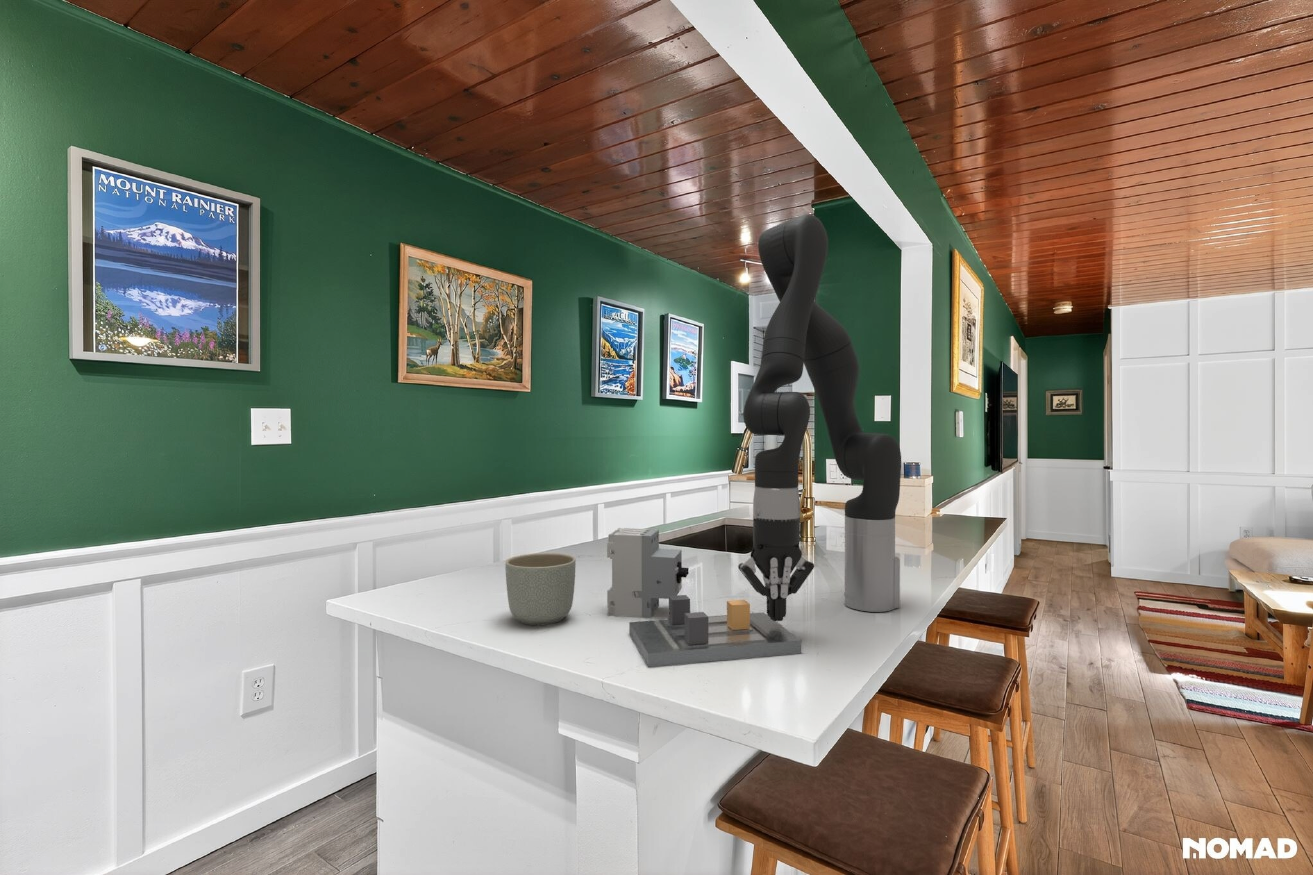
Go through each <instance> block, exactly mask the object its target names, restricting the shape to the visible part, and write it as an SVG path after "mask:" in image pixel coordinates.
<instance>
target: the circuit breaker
mask: <svg viewBox="0 0 1313 875" xmlns="http://www.w3.org/2000/svg"><path fill="white" fill-rule="evenodd" d="M607 535H608V536H607V537H608V540H607V544H606V550H607V551H606V557H607V558H609V559H610V560H611V587H610V588H609V589H607V593H606V594H607V595H606V596H607V598H606V599H607V604H606V605H607V614H606V615H607V617H610V616H612V617H613V616H614V617H617V618H618V617H620V618H634V619H635V618H637V619H651V618H652V617H653V616H654V615H655V613H656V611H657V610H658V609H659V608H660V599H662V600H663V599H665V600H666V599H667V600H669V596H678V594H679V593H680V592H681V590H682V587H683V585H682V584H683V580H682V578H687V576H688V575H689V574H690V573H689V567H683V566H682V562H683V557H682V549H679V548H677V549H676V548H675V549H674V548H660V529H658V528H657V529H656V528H634V527H633V528H631V527H628V528H627V527H624V528H623V527H622V528H621V527H618V528H617V529H615V530H614V531H612V532H611V533H608V534H607Z"/></svg>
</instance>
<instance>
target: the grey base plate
mask: <svg viewBox="0 0 1313 875" xmlns="http://www.w3.org/2000/svg"><path fill="white" fill-rule="evenodd" d="M707 616H708V643H707V644H695V645H689V644H688V643H687V642H686V640H685V624H672V623H671V622H670V621H669V618H668V619H655V620H642V621H640V620H639V621H630V622H628V623H629V624H628V626H629V628H628V629H629V630H628V631H629V632H628V633H629V634H628V635H629V636H630V638H631V640H632V641H633V643H634V645H635V646H636V648H637V650H638V651H639V652H638V653H639V654H640V655H641V657H642V659H643V661H644V663H645V664H646V666H647V668H654V667H665V666H674V665H685V664H700V663H711V662H720V661H729V660H731V661H732V660H741V659H742V660H743V659H754V658H764V657H774V656H775V657H776V656H778V657H779V656H786V655H787V656H789V655H799V654H802V646H803V645H802V639H800V638H799V637H797V635H795V634H794V633H792V632H791V631H790V630H788V629H787V628H786V627H784V626H783V625H781V624H780V623H778V621H773V620H772V619H770V617H769V616H768V615H767V613H765V612H764V611H763V612H752V613H751V612H750V629H740V630H732V629H731V628H729V627H728V626H727V614H723V615H721V614H720V615H712V616H711V615H710V616H709V615H707Z"/></svg>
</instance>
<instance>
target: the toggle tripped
mask: <svg viewBox="0 0 1313 875" xmlns="http://www.w3.org/2000/svg"><path fill="white" fill-rule="evenodd" d="M750 613H751V603H750V602H748V601H747V600H746V599H734V600H733V599H732V600H726V615H727V626H728V627H729V628H731V629H732V630H740V629H750Z"/></svg>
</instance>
